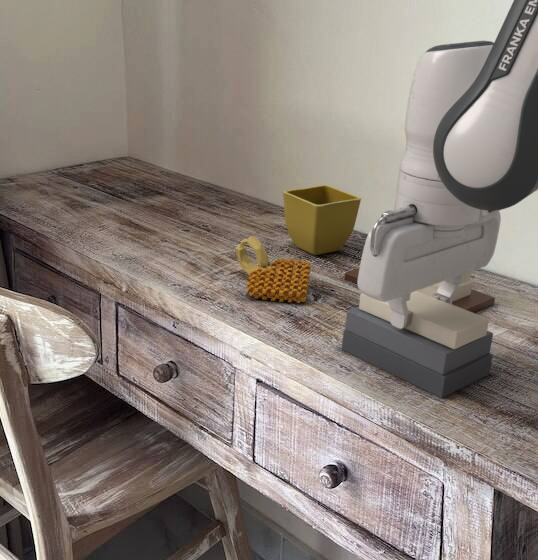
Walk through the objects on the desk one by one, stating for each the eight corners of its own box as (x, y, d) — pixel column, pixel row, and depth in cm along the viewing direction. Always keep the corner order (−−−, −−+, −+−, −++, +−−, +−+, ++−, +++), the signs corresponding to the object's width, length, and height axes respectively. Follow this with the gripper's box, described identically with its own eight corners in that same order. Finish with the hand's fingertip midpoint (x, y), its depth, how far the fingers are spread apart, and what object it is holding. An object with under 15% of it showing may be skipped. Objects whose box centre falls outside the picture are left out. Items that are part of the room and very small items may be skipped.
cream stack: (494, 304, 110) (500, 269, 108) (450, 322, 104) (456, 286, 102) (388, 264, 123) (392, 233, 121) (344, 278, 117) (347, 246, 115)
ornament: (337, 264, 107) (266, 212, 117) (274, 295, 103) (206, 238, 112) (333, 303, 112) (265, 250, 121) (273, 334, 107) (208, 276, 117)
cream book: (486, 335, 89) (489, 318, 88) (454, 349, 85) (457, 332, 84) (391, 297, 98) (393, 281, 97) (358, 308, 94) (360, 293, 93)
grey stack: (489, 374, 91) (496, 334, 89) (441, 398, 86) (448, 356, 84) (389, 330, 101) (394, 293, 99) (341, 349, 96) (345, 310, 94)
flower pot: (312, 262, 123) (317, 205, 119) (277, 245, 129) (281, 190, 126) (356, 253, 127) (362, 198, 124) (320, 237, 134) (325, 184, 130)
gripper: (401, 222, 78) (384, 352, 83) (516, 191, 90) (495, 306, 95) (350, 206, 82) (337, 330, 87) (467, 179, 94) (450, 289, 100)
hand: (421, 317), depth 91 cm, fingers closed on cream book, 6 cm apart
